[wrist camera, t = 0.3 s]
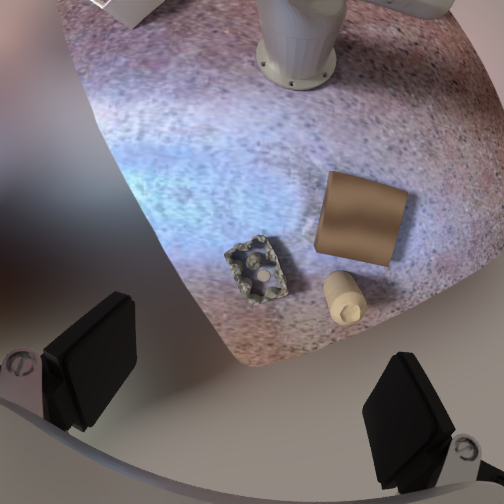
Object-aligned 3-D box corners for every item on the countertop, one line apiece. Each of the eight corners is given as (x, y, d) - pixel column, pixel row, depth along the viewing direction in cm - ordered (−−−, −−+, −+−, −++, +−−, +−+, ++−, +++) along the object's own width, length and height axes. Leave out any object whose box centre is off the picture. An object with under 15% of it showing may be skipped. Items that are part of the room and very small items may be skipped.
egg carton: (291, 287, 46) (291, 297, 42) (250, 300, 48) (247, 311, 44) (268, 229, 44) (266, 235, 40) (225, 245, 45) (220, 252, 42)
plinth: (329, 171, 40) (334, 171, 36) (397, 189, 39) (408, 192, 35) (313, 244, 43) (316, 252, 40) (380, 259, 43) (388, 267, 39)
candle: (338, 263, 44) (351, 288, 34) (360, 282, 44) (377, 310, 35) (316, 287, 46) (323, 317, 36) (339, 305, 46) (350, 337, 37)
